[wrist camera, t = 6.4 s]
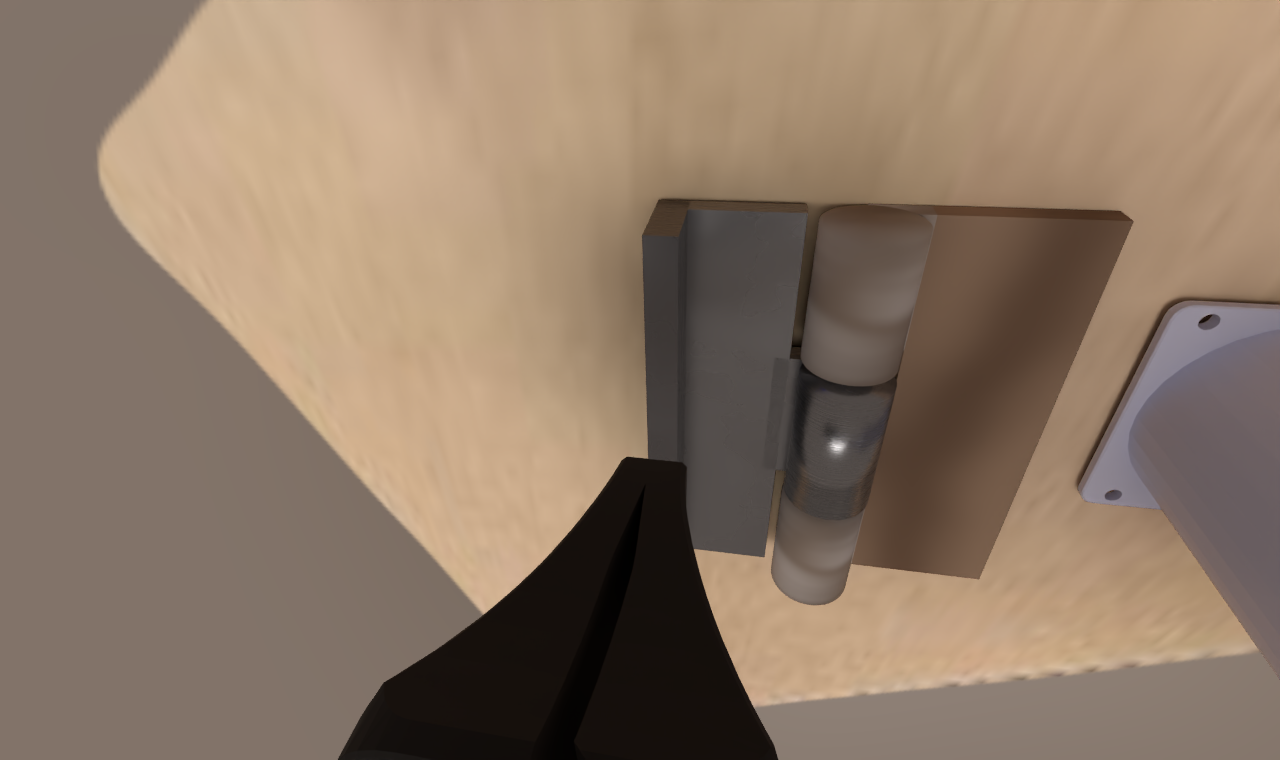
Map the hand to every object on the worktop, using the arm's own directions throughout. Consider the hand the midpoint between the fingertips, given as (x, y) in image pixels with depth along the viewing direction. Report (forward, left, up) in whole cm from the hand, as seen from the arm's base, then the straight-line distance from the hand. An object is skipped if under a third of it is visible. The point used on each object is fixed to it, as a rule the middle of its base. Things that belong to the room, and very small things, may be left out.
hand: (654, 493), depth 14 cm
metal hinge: (-3, +4, -9) cm, 10 cm away
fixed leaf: (-8, +4, -9) cm, 13 cm away
